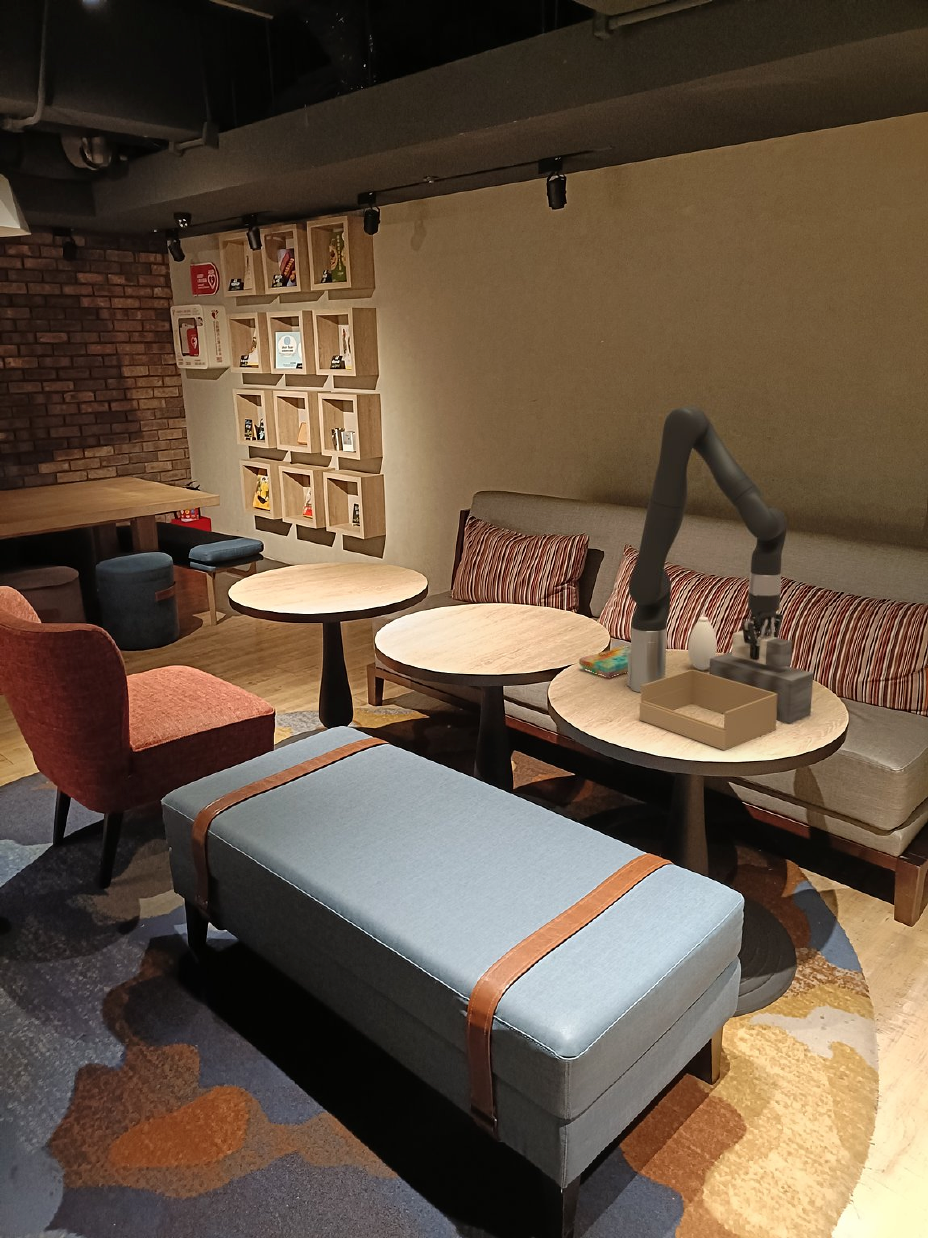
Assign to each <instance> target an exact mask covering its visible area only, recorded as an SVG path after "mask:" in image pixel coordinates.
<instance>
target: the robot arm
mask: <svg viewBox="0 0 928 1238" xmlns="http://www.w3.org/2000/svg"><path fill="white" fill-rule="evenodd" d="M661 435H662V436H661V437H662V438H661V444H660V445H661V447H660V454H659V461H658V465H657V469H656V472H655V477H654V479H653V486H652V490H651V493H650V496H649V501H648V506H647V510H646V515H645V516H646V517H645V519H644V520H645V521H644V526H643V530H642V536H641V541H640V546H639V550H638V554H637V557H636V561H635V564H634V567H633V570H632V571H631V574H630V577H629V582H628V592H629V596H630V598H631V599H632V601H633V602H634V603H635V604H636V605H635V610H634V613H633V614H632V616H631V631H630V632H631V635H630V637H631V638H630V640H631V643H630V647H631V652H629V653H628V673H627V679H626V680H627V687H628V686H629V687H628V688H630V690H632V691H634V692H636V693H640V694H641V685H644V684H648V683H651V682H654V681H657V680H660V679H663V678H666V664H667V663H666V660H667V659H666V658H667V656H666V655H667V632H668V631H667V629H668V628H667V625H668V620H669V617H670V613H671V612H670V609H671V595H672V581H671V578H670V576H669V574H668V571H667V570H665V565H666V560H667V557H668V555H669V552H670V550H671V548H672V546H673V544H674V542H675V540H676V538H677V536H678V533H679V531H680V529H681V526H682V523H683V519H684V516H685V512H686V508H687V503H688V478H687V476H688V475H687V472H688V471H687V470H688V464H689V460H690V456H691V452H692V450H694V451H695V452H697V454H698V455H699V456H700V457H701V459H703V461H704V463H706V465H707V467H708V469H709V470H710V473H711V475H712V476H713V479H714V480H715V483H716V485H717V486H718V487H719V489H720V490H721V492H722V493H723V495H724V496H725V497H726V498H727V500H728V501H729V502H730V503H731V504H732V506H734V508H735V509H736V510H737V512H738V514H739V516H740V518H741V520H742V522H743V523H744V525H745V527H746V528H747V530H748V531H749V533H750V534H751V535H752V536H753V537H755V538H756V545H755V548H754V550H753V551H752V554H751V560H750V573H749V580H748V594H747V609H748V610H749V611H750V612H751V613H750V616H749V619H748V620H746V621H742V623H741V628H742V630H743V636H744V642H745V643H748V644H750V658H751V659H753V660H758V659H759V650H760V646H759V645H760V640H761V637H763V636H764V635H767V636H772V637H776V638H779V635H780V631H781V627H782V625H783V623H782V622H783V619H784V614H782V613H777V611H780V606H781V594H782V593H781V592H782V575H781V574H782V573H781V572H782V553H783V550H784V545H785V540H786V535H787V530H788V529H787V528H788V525H787V524H788V522H787V521H788V520H787V517H786V516H785V514H784V512H783V511H782V510H780V509H778V508H774V507H770V508H769V507H768V506H767V504H766V503H765V501H764V500H763V499H762V492H761V490H760V488H759V487H758V486H757V485H756V484H755V482H754V481H753V479H752V478H751V477H750V476H749V475H748V473H746V471H745V470H744V469H743V468H742V466H741V465H740V464H739V463H738V462H737V461H736V459H735V458H734V457H733V455H732V454H731V453H730V451H729V450H728V448H727V447H726V445H725V444H724V442H723V440H721V438H720V436H719V434H718V433H717V431H716V429H715V427H714V426H713V424H712V422H711V421H710V419H709V417H708V416H707V414H706V412H705V411H704V410H702V409H701V408H699V407H697V406H682V407H677V408H675V409H673V410H672V411H671V412H669V413H668V415H667V416H666V418H665V420H664V424H663V429H662V434H661ZM748 636H749V637H750V638H748ZM755 636H757V638H756V640H755Z"/></svg>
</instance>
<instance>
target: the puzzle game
mask: <svg viewBox="0 0 928 1238" xmlns="http://www.w3.org/2000/svg"><path fill="white" fill-rule="evenodd" d="M629 652H631V646H629V645H625V646H620V647H618V648H613V649H610V650H605V651H599V652H598V653H594V654H590V655H586V656H583V657H582V656H581V657H580V658H579V659H578V663H579V665H580V667H582V669H583V670H584V669H587V670H590V671H592V672H594V673H597V674H602V675H604V676H606V677H608V678H607V679H610V678H609V677H611V678H613V677H612V676H614V675H617V674H621V675H623V674H622V673H625V672H628V653H629ZM625 674H626V673H625ZM606 677H605V678H606Z"/></svg>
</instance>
